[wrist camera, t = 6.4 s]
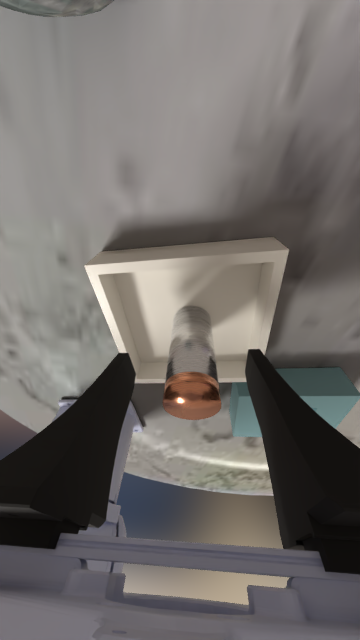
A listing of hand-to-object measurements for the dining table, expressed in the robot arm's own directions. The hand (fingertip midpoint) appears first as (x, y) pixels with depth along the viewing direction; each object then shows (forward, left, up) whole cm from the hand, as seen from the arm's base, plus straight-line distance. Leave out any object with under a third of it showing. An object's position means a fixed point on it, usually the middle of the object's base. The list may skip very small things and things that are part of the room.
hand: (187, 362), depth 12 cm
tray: (0, 0, -5) cm, 5 cm away
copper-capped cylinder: (0, 0, -4) cm, 4 cm away
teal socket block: (+9, -11, -5) cm, 15 cm away
